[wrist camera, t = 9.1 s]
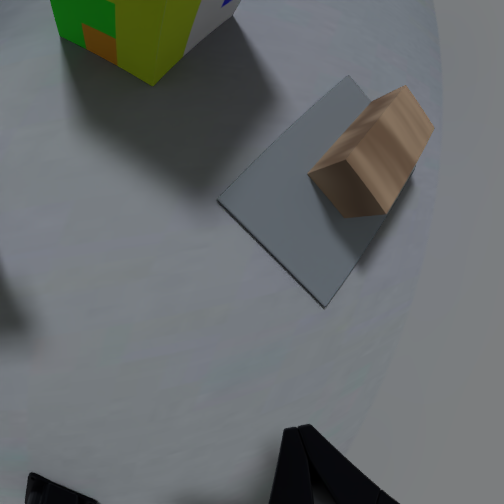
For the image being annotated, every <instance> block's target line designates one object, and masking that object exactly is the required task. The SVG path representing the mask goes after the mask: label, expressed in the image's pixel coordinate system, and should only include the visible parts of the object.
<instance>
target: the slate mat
mask: <svg viewBox="0 0 504 504" xmlns="http://www.w3.org/2000/svg"><path fill="white" fill-rule="evenodd" d="M370 103H371V101H370V99H369V98H368V97H367V96H366V95H365V93H364V92H363V91H362V90H361V89H360V87H359V86H358V85H357V84H356V83H355V81H354V80H353V79H352V78H351V77H350V76H349V75H348V76H346V77H345V78H344V79H343V80H342V81H340V82H339V83H338V84H337V85H336V86H335V87H334V88H332V89H331V90H330V91H329V92H328V93H327V94H326V95H324V96H323V97H322V98H321V99H320V100H319V101H318V102H317V103H315V104H314V105H313V106H312V107H311V108H310V109H309V110H308V111H307V112H306V113H304V114H303V115H302V116H301V117H300V118H299V119H298V120H297V121H296V122H295V123H294V124H292V125H291V126H290V127H289V128H288V129H287V130H286V131H285V132H284V133H283V134H282V135H281V136H280V137H279V138H278V139H277V140H276V141H275V142H273V143H272V144H271V145H270V146H269V147H268V148H267V149H266V150H265V151H264V152H263V153H262V154H261V155H260V156H259V157H258V158H257V159H256V160H255V161H254V162H253V163H252V164H251V165H250V166H249V167H248V168H247V169H246V170H245V171H244V172H243V173H242V174H241V175H240V176H239V177H238V178H237V179H236V180H235V181H234V182H233V183H232V184H231V185H230V186H229V187H228V188H227V189H226V190H225V191H224V192H223V193H222V194H221V196H220V197H219V198H218V199H217V200H218V201H219V202H220V203H221V204H222V205H223V206H224V207H225V208H226V209H227V210H228V211H229V212H230V213H231V214H232V215H233V216H234V217H235V218H236V219H237V220H238V221H239V222H240V223H241V224H242V225H243V226H244V227H245V228H246V229H247V230H248V231H249V232H250V233H251V234H252V235H253V236H254V237H255V238H256V239H257V240H258V241H259V242H260V243H261V244H262V245H263V246H264V247H265V248H266V249H267V250H268V251H269V252H270V253H271V254H272V255H273V256H274V257H275V258H276V259H277V260H278V261H279V262H280V263H281V264H282V265H283V266H284V267H285V268H286V269H287V270H288V271H289V272H290V273H291V274H292V275H293V276H294V277H295V278H296V279H297V280H298V281H299V282H300V283H301V284H302V285H303V286H304V287H305V288H306V289H307V290H308V291H309V292H310V293H311V294H312V295H313V296H314V297H315V298H316V299H317V300H318V301H319V302H320V303H321V304H322V305H323V306H324V307H326V305H327V304H328V302H329V301H330V300H331V298H332V297H333V296H334V294H335V293H336V292H337V290H338V289H339V287H340V286H341V285H342V283H343V282H344V280H345V279H346V277H347V276H348V275H349V273H350V272H351V270H352V269H353V267H354V266H355V264H356V263H357V261H358V260H359V259H360V257H361V256H362V254H363V253H364V251H365V250H366V248H367V246H368V245H369V243H370V242H371V240H372V239H373V237H374V236H375V234H376V233H377V231H378V229H379V228H380V226H381V225H382V223H383V221H384V220H385V218H386V217H387V215H388V213H389V212H390V210H391V208H392V207H393V205H394V203H395V202H396V200H397V198H398V197H399V195H400V193H401V192H402V190H403V188H404V186H405V185H406V183H407V181H408V179H409V178H410V176H411V174H412V172H413V170H414V169H415V167H416V165H415V166H414V168H413V170H412V172H411V174H410V175H409V177H408V179H407V181H406V182H405V184H404V186H403V188H402V189H401V191H400V193H399V194H398V196H397V198H396V199H395V201H394V203H393V204H392V206H391V208H390V209H389V211H388V213H387V214H385V215H374V216H363V217H353V218H344V217H343V216H342V215H341V213H340V212H339V211H338V210H337V209H336V207H335V206H334V205H333V204H332V202H331V201H330V200H329V199H328V198H327V196H326V195H325V194H324V193H323V192H322V191H321V189H320V188H319V187H318V186H317V185H316V184H315V182H314V181H313V180H312V179H311V178H310V177H309V176H308V174H307V173H308V172H309V171H310V170H311V169H312V168H313V167H314V165H315V164H316V163H317V162H318V161H319V160H320V159H321V158H322V156H323V155H324V154H325V153H326V152H327V151H328V150H329V149H330V147H331V146H332V145H333V144H334V143H335V142H336V141H337V140H338V138H339V137H340V136H341V135H342V134H343V133H344V132H345V131H346V129H347V128H348V127H349V126H350V125H351V124H352V123H353V122H354V121H355V119H356V118H357V117H358V116H359V115H360V114H361V113H362V112H363V111H364V109H365V108H366V107H367V106H368V105H369V104H370Z"/></svg>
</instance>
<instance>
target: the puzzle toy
mask: <svg viewBox="0 0 504 504" xmlns="http://www.w3.org/2000/svg"><path fill="white" fill-rule="evenodd" d="M240 1H241V0H50V2H51V6H52V10H53V14H54V17H55V21H56V25H57V28H58V32H59V35H60V36H61V37H63V38H65V39H67V40H69V41H71V42H73V43H75V44H77V45H79V46H81V47H83V48H85V49H87V50H89V51H91V52H93V53H94V54H96V55H98V56H100V57H102V58H104V59H106V60H108V61H109V62H111V63H113V64H115V65H117V66H118V67H120V68H122V69H124V70H125V71H127V72H129V73H131V74H132V75H134V76H136V77H138V78H139V79H141V80H143V81H144V82H146V83H148V84H149V85H151V86H154V85H155V84H156V83H157V82H158V81H159V80H160V79H161V78H162V77H163V76H164V75H165V74H166V73H167V72H168V71H169V70H170V69H171V68H172V67H173V66H174V65H175V64H176V63H177V62H178V61H179V60H180V59H181V58H182V57H183V56H185V55H186V54H187V53H188V52H189V51H190V50H191V49H192V48H193V47H195V46H196V45H197V44H198V43H199V42H200V41H201V40H203V39H204V38H205V37H206V36H207V35H209V34H210V33H211V32H212V31H213V30H215V29H216V28H217V27H218V26H220V25H221V24H222V23H223V22H225V21H226V20H227V19H229V18H230V17H231V16H233V14H234V12H235V10H236V8H237V7H238V5H239V3H240Z"/></svg>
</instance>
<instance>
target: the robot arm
mask: <svg viewBox="0 0 504 504" xmlns="http://www.w3.org/2000/svg"><path fill="white" fill-rule="evenodd" d="M25 504H97V502H96V501H95V500H93V499H90V498H88V497H85V496H83V495H80V494H78V493H75V492H73V491H70V490H68V489H66V488H63V487H61V486H59V485H57V484H55V483H53V482H51V481H48V480H46V479H44V478H42V477H41V476H39V475H37V474H35V473H32V472H31V473H29V476H28V482H27V489H26V496H25ZM269 504H400V503H398V502H397V501H396V500H394V499H393V498H392V497H390V496H389V495H388V494H387V493H386V492H384V491H383V490H380V488H379V487H378V486H377V485H376V484H375V483H373V482H372V481H371V480H370V479H369V478H368V477H367V476H366V475H364V474H363V473H362V472H361V471H360V470H359V469H358V468H357V467H355V466H354V465H353V464H352V463H351V462H350V461H349V460H348V459H347V458H346V457H344V456H343V455H342V454H341V453H340V452H339V451H338V450H337V449H336V448H335V447H334V446H333V445H332V444H331V443H330V442H328V441H327V440H326V439H325V438H324V437H323V436H322V435H321V434H320V433H319V432H318V431H317V430H316V429H315V428H314V427H313V426H312V425H311V424H306V425H301V426H298V427H290V428H285V429H284V431H283V436H282V442H281V447H280V452H279V457H278V462H277V467H276V472H275V477H274V481H273V486H272V491H271V495H270V499H269Z"/></svg>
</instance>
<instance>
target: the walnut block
mask: <svg viewBox="0 0 504 504" xmlns="http://www.w3.org/2000/svg"><path fill="white" fill-rule="evenodd" d="M433 130H434V126H433V125H432V123H431V122H430V120H429V118H428V117H427V115H426V114H425V112H424V111H423V109H422V108H421V106H420V105H419V103H418V102H417V100H416V99H415V97H414V96H413V94H412V93H411V92H410V90H409V89H408V87H407V86H406V85H404V86H402V87H400V88H398V89H396V90H394V91H392V92H390V93H388V94H386V95H384V96H382V97H380V98H378V99H376V100H374V101H372V102H371V103H370V104H369V105H368V106H367V107H366V108H365V109H364V111H363V112H362V113H361V114H360V115H359V116H358V117H357V118H356V119H355V121H354V122H353V123H352V124H351V125H350V126H349V127H348V128H347V129H346V131H345V132H344V133H343V134H342V135H341V136H340V137H339V138H338V140H337V141H336V142H335V143H334V144H333V145H332V146H331V147H330V149H329V150H328V151H327V152H326V153H325V154H324V155H323V156H322V158H321V159H320V160H319V161H318V162H317V163H316V164H315V165H314V167H313V168H312V169H311V170H310V171H309V172H308V173H307V174H308V176H309V177H310V178H311V179H312V180H313V181H314V182H315V184H316V185H317V186H318V187H319V188H320V189H321V191H322V192H323V193H324V194H325V195H326V196H327V198H328V199H329V200H330V201H331V202H332V204H333V205H334V206H335V207H336V209H337V210H338V211H339V212H340V213H341V215H342V216H343V217H344V218H353V217H363V216H374V215H385V214H387V213H388V211H389V209H390V208H391V206H392V204H393V203H394V201H395V199H396V198H397V196H398V194H399V193H400V191H401V189H402V188H403V186H404V184H405V182H406V181H407V179H408V177H409V175H410V174H411V172H412V170H413V168H414V166H415V165H416V163H417V161H418V159H419V157H420V155H421V153H422V152H423V150H424V148H425V146H426V144H427V142H428V140H429V138H430V136H431V134H432V132H433Z"/></svg>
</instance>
